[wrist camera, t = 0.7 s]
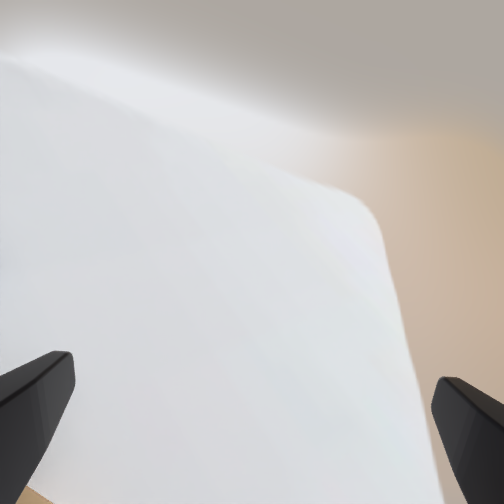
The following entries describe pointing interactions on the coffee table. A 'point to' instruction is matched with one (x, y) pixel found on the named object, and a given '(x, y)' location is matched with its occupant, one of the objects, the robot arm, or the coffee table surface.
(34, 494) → the board
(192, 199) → the coffee table surface
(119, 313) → the coffee table surface
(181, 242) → the coffee table surface
